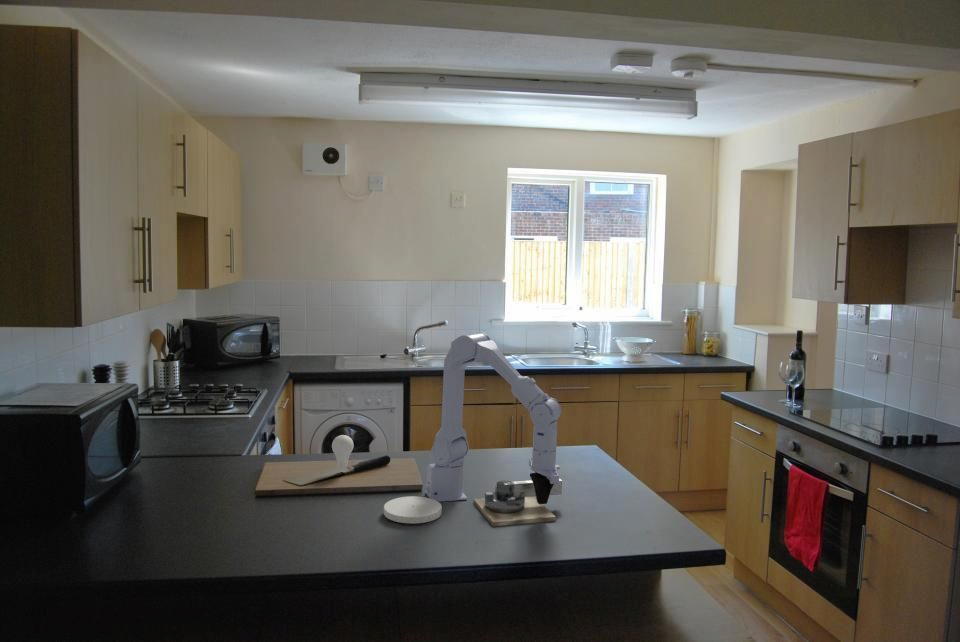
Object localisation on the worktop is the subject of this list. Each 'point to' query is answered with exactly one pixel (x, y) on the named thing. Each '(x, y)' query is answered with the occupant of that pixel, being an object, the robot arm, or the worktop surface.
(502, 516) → the square wooden board
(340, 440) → the lightbulb
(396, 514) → the plastic lid
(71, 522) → the worktop surface
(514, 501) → the metal lever mechanism
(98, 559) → the worktop surface
